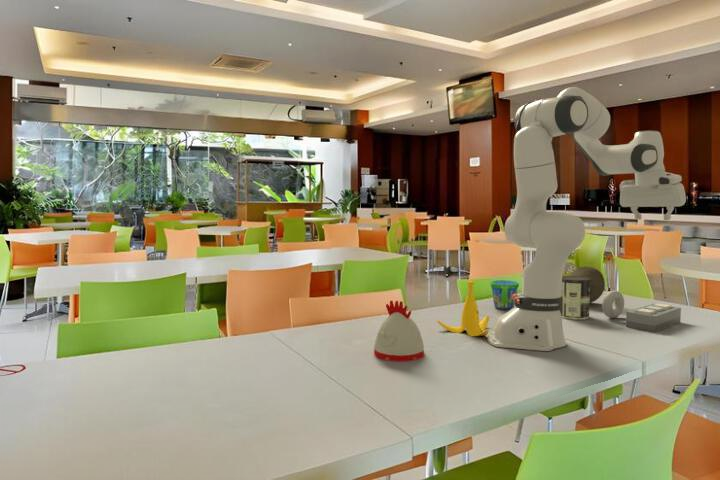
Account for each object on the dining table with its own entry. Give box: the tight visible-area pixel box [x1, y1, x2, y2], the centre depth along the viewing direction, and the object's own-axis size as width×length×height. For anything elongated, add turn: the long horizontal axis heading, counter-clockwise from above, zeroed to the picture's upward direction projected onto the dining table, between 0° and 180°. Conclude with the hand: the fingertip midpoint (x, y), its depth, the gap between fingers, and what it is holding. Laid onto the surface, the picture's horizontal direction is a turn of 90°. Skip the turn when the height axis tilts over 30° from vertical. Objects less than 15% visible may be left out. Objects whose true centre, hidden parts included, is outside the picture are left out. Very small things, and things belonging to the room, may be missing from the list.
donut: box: [601, 289, 625, 319], centre depth 185 cm, size 10×3×10 cm, turn 119°
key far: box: [653, 303, 672, 310], centre depth 180 cm, size 4×4×2 cm
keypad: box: [625, 303, 682, 333], centre depth 176 cm, size 20×9×5 cm, turn 128°
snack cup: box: [490, 279, 520, 311], centre depth 204 cm, size 16×10×10 cm
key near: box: [637, 309, 655, 315], centre depth 172 cm, size 4×4×2 cm
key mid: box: [645, 306, 663, 312], centre depth 176 cm, size 4×4×2 cm
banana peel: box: [436, 280, 490, 338], centre depth 169 cm, size 17×19×17 cm
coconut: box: [569, 266, 606, 304], centre depth 209 cm, size 14×14×15 cm
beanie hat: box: [373, 300, 425, 362], centre depth 146 cm, size 14×14×15 cm
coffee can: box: [561, 275, 590, 321], centre depth 188 cm, size 10×10×14 cm
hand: (652, 219), depth 177 cm, fingers open, 8 cm apart
